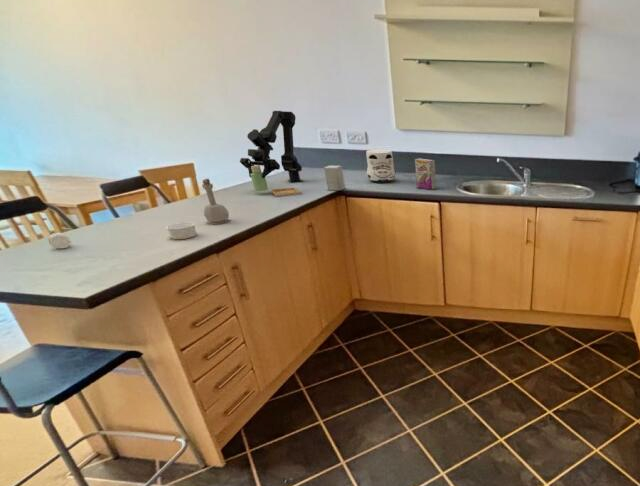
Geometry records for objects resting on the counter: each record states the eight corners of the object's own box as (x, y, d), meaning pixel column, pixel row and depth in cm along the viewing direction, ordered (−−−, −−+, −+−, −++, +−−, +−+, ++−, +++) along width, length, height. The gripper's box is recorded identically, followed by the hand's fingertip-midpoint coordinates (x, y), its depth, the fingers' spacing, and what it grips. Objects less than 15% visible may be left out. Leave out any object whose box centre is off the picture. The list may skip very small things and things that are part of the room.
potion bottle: (235, 220, 181) (223, 178, 173) (216, 225, 174) (202, 182, 166) (220, 217, 184) (207, 176, 175) (201, 223, 176) (187, 180, 168)
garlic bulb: (71, 243, 152) (64, 228, 149) (74, 246, 148) (67, 232, 146) (50, 246, 148) (42, 232, 145) (53, 250, 144) (45, 235, 142)
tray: (271, 192, 228) (270, 189, 227) (295, 189, 235) (294, 187, 234) (276, 196, 220) (275, 194, 219) (300, 193, 226) (300, 191, 226)
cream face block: (381, 185, 251) (378, 154, 243) (362, 181, 259) (358, 151, 251) (402, 180, 264) (399, 151, 256) (383, 177, 272) (380, 148, 264)
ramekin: (170, 235, 162) (166, 224, 160) (197, 231, 167) (193, 220, 165) (170, 241, 156) (166, 230, 154) (198, 237, 161) (195, 226, 159)
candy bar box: (416, 187, 248) (413, 159, 240) (421, 186, 252) (419, 158, 244) (431, 190, 244) (430, 161, 236) (436, 188, 248) (435, 160, 240)
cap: (251, 171, 219) (250, 166, 217) (260, 170, 221) (259, 165, 220) (253, 173, 216) (251, 167, 215) (262, 172, 218) (260, 166, 217)
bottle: (253, 189, 223) (247, 166, 218) (266, 187, 227) (261, 165, 221) (255, 191, 219) (249, 168, 213) (269, 190, 223) (263, 167, 217)
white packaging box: (345, 188, 242) (342, 165, 236) (339, 190, 235) (336, 167, 229) (333, 187, 242) (329, 165, 237) (327, 190, 236) (323, 167, 230)
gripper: (236, 141, 216) (229, 167, 211) (271, 143, 215) (264, 169, 211) (250, 155, 226) (243, 180, 222) (283, 156, 226) (277, 181, 221)
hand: (256, 177), depth 219 cm, fingers closed on bottle, 6 cm apart
